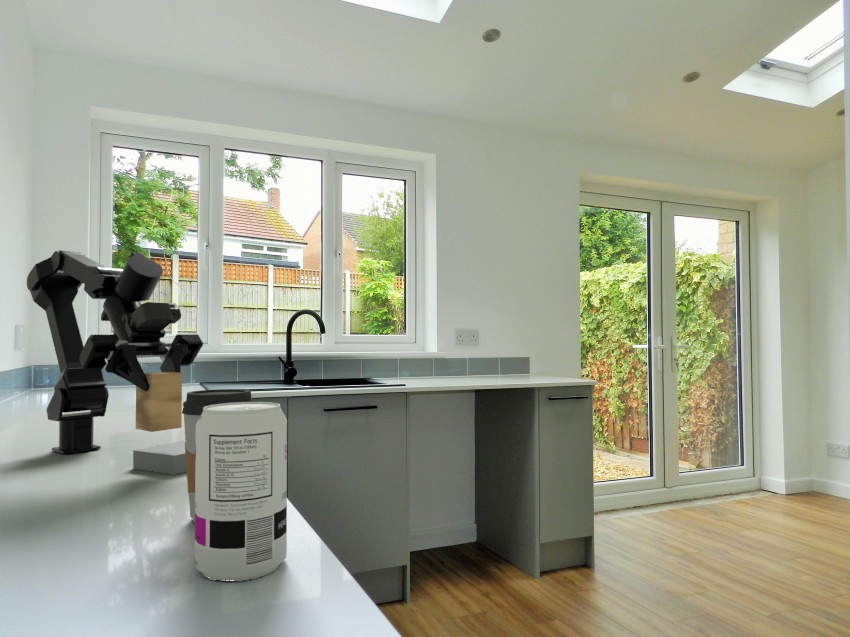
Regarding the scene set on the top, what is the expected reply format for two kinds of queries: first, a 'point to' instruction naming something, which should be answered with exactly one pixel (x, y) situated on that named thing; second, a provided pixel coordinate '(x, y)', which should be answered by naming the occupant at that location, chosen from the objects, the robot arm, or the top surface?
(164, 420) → the caramel block
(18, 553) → the top surface
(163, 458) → the gray plinth
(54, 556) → the top surface
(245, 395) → the coffee cup
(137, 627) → the top surface
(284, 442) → the supplement can
